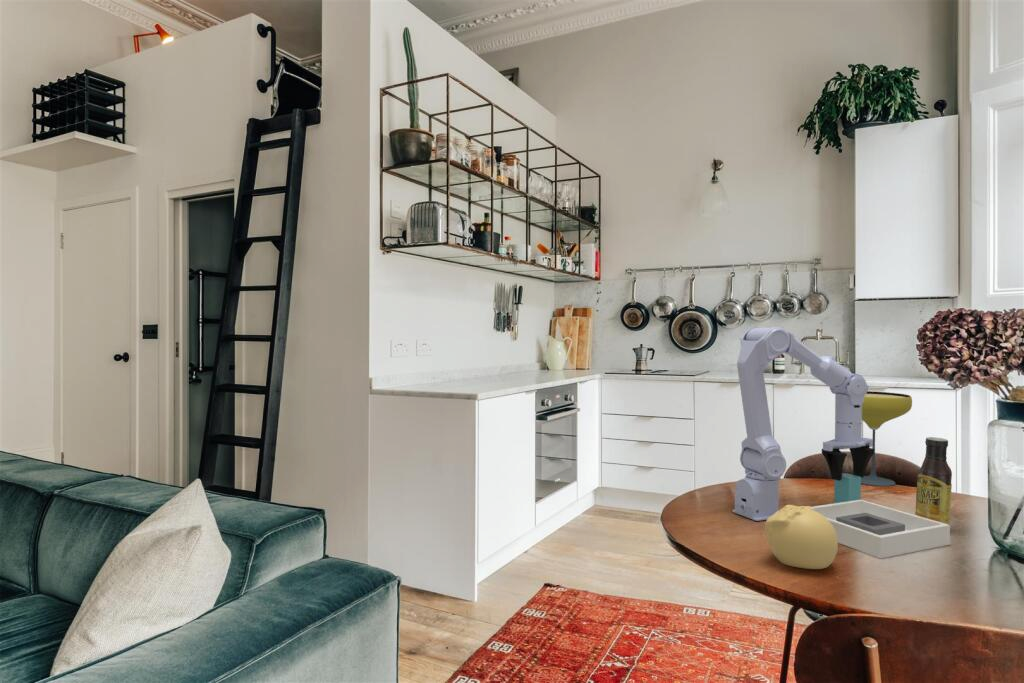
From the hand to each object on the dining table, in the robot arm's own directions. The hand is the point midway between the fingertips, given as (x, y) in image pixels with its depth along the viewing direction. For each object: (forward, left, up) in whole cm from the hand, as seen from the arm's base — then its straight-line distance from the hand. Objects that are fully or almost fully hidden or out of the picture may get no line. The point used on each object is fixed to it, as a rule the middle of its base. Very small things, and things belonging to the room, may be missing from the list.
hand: (847, 478), depth 150 cm
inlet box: (-13, -16, -7) cm, 22 cm away
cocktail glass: (+30, +16, -8) cm, 35 cm away
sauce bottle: (+4, -18, -8) cm, 20 cm away
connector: (0, 0, -7) cm, 7 cm away
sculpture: (-39, -22, -8) cm, 45 cm away
